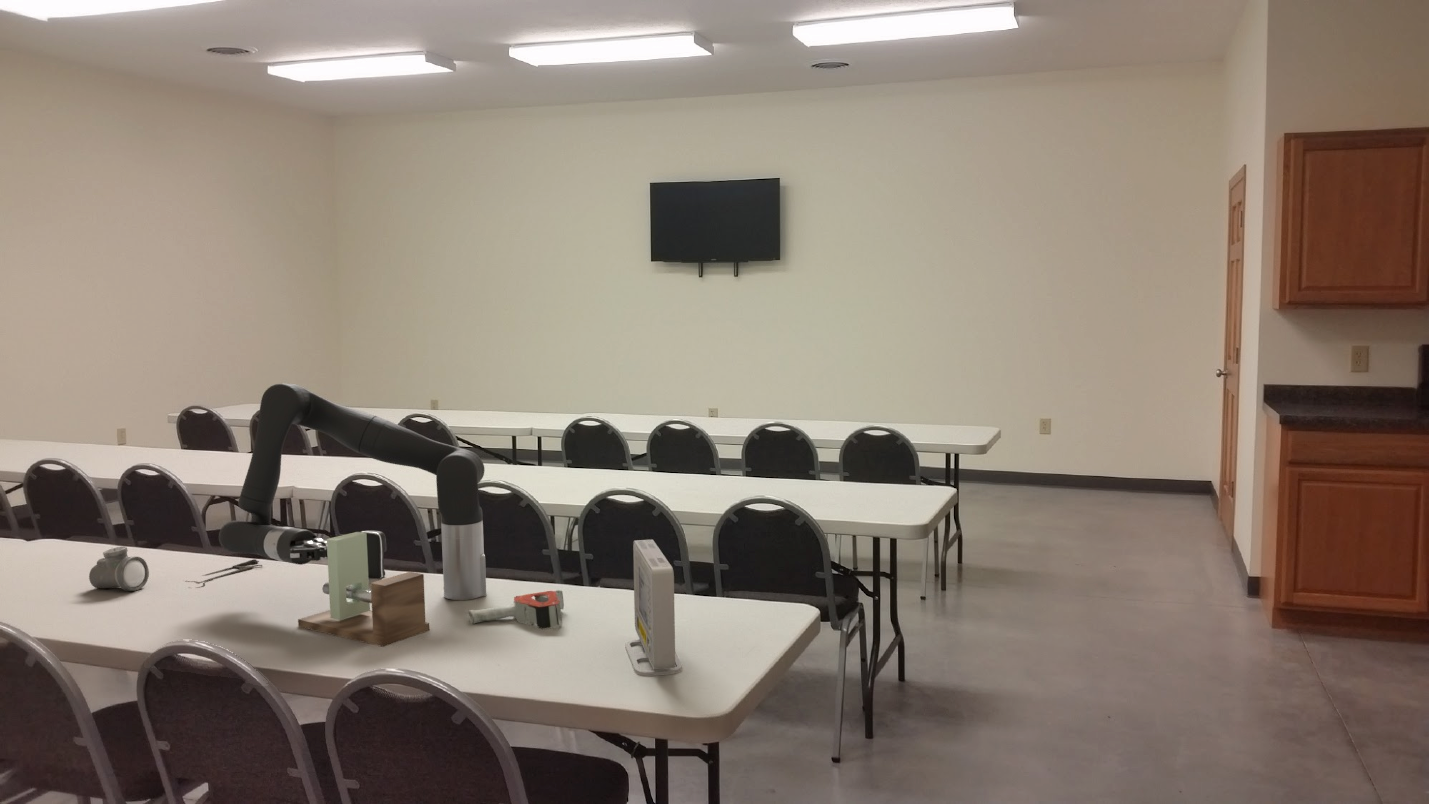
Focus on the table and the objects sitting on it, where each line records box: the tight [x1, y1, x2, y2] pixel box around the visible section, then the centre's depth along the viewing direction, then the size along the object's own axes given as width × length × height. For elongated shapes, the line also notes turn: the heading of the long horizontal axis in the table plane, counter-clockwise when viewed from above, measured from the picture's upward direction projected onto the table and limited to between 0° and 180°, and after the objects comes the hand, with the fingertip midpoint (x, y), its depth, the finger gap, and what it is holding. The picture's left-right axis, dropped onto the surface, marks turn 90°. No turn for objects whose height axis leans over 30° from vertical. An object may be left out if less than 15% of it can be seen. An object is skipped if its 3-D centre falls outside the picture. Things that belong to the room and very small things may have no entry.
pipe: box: [321, 581, 372, 604], centre depth 218 cm, size 22×3×3 cm, turn 58°
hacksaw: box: [184, 558, 263, 589], centre depth 263 cm, size 24×10×2 cm, turn 149°
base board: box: [297, 571, 430, 648], centre depth 218 cm, size 26×12×12 cm, turn 58°
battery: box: [360, 530, 387, 579], centre depth 259 cm, size 7×4×11 cm, turn 72°
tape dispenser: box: [468, 589, 565, 630], centre depth 223 cm, size 18×5×20 cm
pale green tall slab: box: [326, 531, 371, 620], centre depth 220 cm, size 3×8×17 cm, turn 148°
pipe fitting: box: [88, 545, 150, 592], centre depth 251 cm, size 12×8×10 cm, turn 73°
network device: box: [624, 539, 683, 677], centre depth 197 cm, size 26×9×20 cm, turn 12°
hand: (343, 554), depth 220 cm, fingers closed
